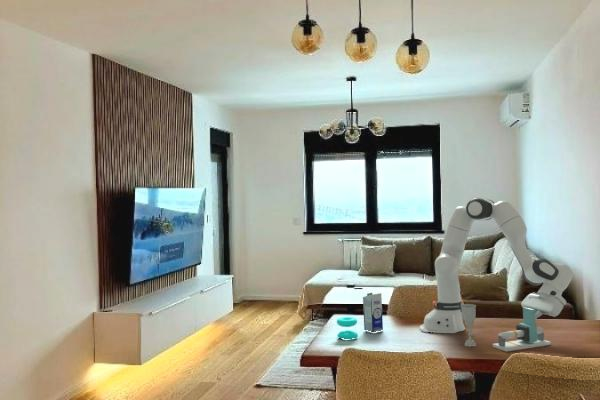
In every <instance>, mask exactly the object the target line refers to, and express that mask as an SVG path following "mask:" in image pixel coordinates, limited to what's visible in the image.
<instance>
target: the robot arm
mask: <svg viewBox="0 0 600 400" xmlns="http://www.w3.org/2000/svg"><path fill="white" fill-rule="evenodd" d="M491 219H492V220H494V221H495V223H496V224H497V225H498V228H499V229H500V231H501V232H502V234H503V235H504V237H505V239H506V240H507V243H508V244H509V246H510V248H511V250H512V253H513V254H514V256H515V258H516V259H517V261H518V264H519V265H520V267H521V270H522V277H523V279H524V281H525V282H526V283H528V284H529V285H531V286H535V287H536V286H540V285H542V286H540V288H539V289H538V291H537V292H536V291H535V292H534V291H533V292H532V293H529V294H528V295H526V297H524V299H522V301H521V303H520V305H521V307H522V309H523V308H525V307H526V308H530V309H534V310H535V317H536V320H537V319H538V318H540V317H541V316H542V315H545V316H546V315H547V316H551V317H553V318H555V317H557V316H559V315H560V313H561V312H562V310H563V309H564V306H565V305H566V304H567V300H566V299H565V298H564V297H563V296H562V295H563V292H564V291H565V290H566V289H567V288H568V286H569V285H570V283H571V282H572V280H573V277H574V274H573V270H572V269H571V268H570V266H568V265H567V264H564V263H558V262H553V261H550V260H549V259H546V258H540V257H538V258H537V259H534V258H533V257H532V255H531V254H530V251H529V250H528V248H527V246H526V245H527V244H526V236H527V231H528V230H527V225H526V223H525V221H524V218H522V216H521V215H520V212H518V211H517V210H516V208H515V207H514V206H513V205H512V204H511V203H510V202H509V201H507V200H499V201H498V202H494V200H492V199H489V198H485V197H475V198H472V199H470V200H469V201H468V202H467V204H466V206H464V205H459V206H456V207H455V208H454V209H453V212H452V213H451V216H450V218H449V221H448V222H447V223H448V224H447V227H446V230H445V233H444V235H443V236H444V237H443V240H442V245H441V250H440V253H439V255H438V256H437V257H436V259H435V261H434V271H435V278H436V285H437V301H435V300H433V301H432V305H433V306H434V308H433V309H432V310H431V311H430V312H429V313H426V315H425V316H424V320H423V324H421V325H419V330H420V332H422V331H423V332H422V333H428V332H431V334H436V333H437V334H456V333H459V332H463V331H465V330H466V328H465V325H464V324H465V323H464V320H463V317H462V307H461V305H462V301H461V286H460V279H459V272H458V271H459V268H460V266H461V263H462V259H463V257H464V256H463V255H464V252H465V247H466V244H467V241H468V238H469V234H470V231H471V228H472V224H473V222H475V221H489V220H491ZM432 332H433V333H432Z"/></svg>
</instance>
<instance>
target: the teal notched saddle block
mask: <svg viewBox="0 0 600 400" xmlns="http://www.w3.org/2000/svg"><path fill="white" fill-rule="evenodd" d="M522 318H523V319H522V320H523V322H522V323H521V322H520V323H518V324H517V325H522V326H526V327H529V342H537V328H538V325H536V323H537V322H536V320H537V319H536V317H535V310H534V309H530V308H526V307H525V308H523V307H522ZM521 330H523V329H521ZM524 337H525V336H524Z"/></svg>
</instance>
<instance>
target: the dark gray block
mask: <svg viewBox="0 0 600 400" xmlns="http://www.w3.org/2000/svg"><path fill="white" fill-rule="evenodd" d="M515 326H516V327H515V328H516V330H521V329H523V330H524V334H525V337H517V338H516V339H517V340H522V341H525V342H529V327H526V326H522V325H518V324H516V325H515ZM516 330H515V331H516Z"/></svg>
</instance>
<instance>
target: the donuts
mask: <svg viewBox="0 0 600 400" xmlns="http://www.w3.org/2000/svg"><path fill="white" fill-rule="evenodd" d="M357 323H358V319H357V318H356V317H353V316H342V317H338V318H337V319H336V324H337V325H338V326H340V327H342V328H344V327H345V328H350V327H353V326H356V325H357ZM337 336H338V337H339V338H344V339H352V338H356V339H358V337H359V336H358V332H357V331H354V330H352V329H351V330H349V329H348V330H345V329H344V330H341V331H339V332H338V333H337ZM338 337H337V338H338Z"/></svg>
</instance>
